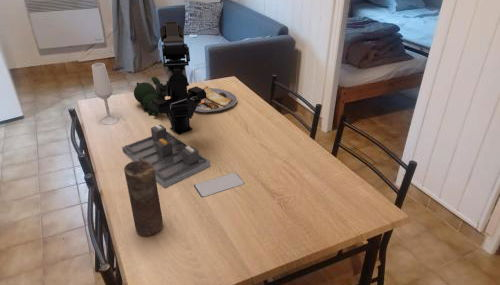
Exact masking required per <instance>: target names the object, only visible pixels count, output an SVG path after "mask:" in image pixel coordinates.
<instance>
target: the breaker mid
mask: <svg viewBox="0 0 500 285" xmlns="http://www.w3.org/2000/svg"><path fill="white" fill-rule="evenodd" d="M155 144H156V151H157V154H158V155H159V156H161V157H162V158H164V157H166V156H168V155H171V154H173V150H172V143H171V142H170V141H168V140H167V139H159V141H158V142H155Z"/></svg>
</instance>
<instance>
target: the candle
mask: <svg viewBox="0 0 500 285" xmlns="http://www.w3.org/2000/svg"><path fill="white" fill-rule="evenodd" d="M123 169H124V170H123V172H124V176H125V180H126V185H127V193H128V196H129V200H130V208H131V212H132V217H133V222H134V223H133V224H134V227H135V231H136V234H137V235H138V236H143V237H148V236H150V235H153V234H156V233H158V232H159V231H160V230H161V229H162V226H163V222H164V220H163V214H162V209H161V208H162V207H161V202H160V201H161V200H160V196H159V190H158V189H159V188H158V184H157V183H158V182H157V181H156V176H155V170H154V166H153V165H152V164H151V163H150V162H148V161H133V160H132V161H131V162H128V163H126V165H124V168H123Z"/></svg>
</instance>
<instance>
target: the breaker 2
mask: <svg viewBox="0 0 500 285" xmlns="http://www.w3.org/2000/svg"><path fill="white" fill-rule="evenodd" d="M199 154H200V153H199V149H197V148H196V147H194V146H193V145H187V147H185V149H183V150H182V160H183V162H184V163H186V164H187V165H188V166H191V165H193V164H195V163H197V162H199Z"/></svg>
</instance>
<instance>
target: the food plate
mask: <svg viewBox="0 0 500 285" xmlns="http://www.w3.org/2000/svg"><path fill="white" fill-rule="evenodd" d="M202 89H203V90H205V92H206V98H205V99H202V100H201V102H200V103H199V104H198V106H197V108H196V110H195V112H200V113H209V112H217V111H223V110H226V109H228V108H231V107H234V106H235V104H236V103H237V102H238V98H237V96H236V94H234V93H232V92H230V91H228V90H224V89H221V88H212V87H209V86H205V87H203V88H202ZM220 107H221V108H220Z"/></svg>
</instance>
